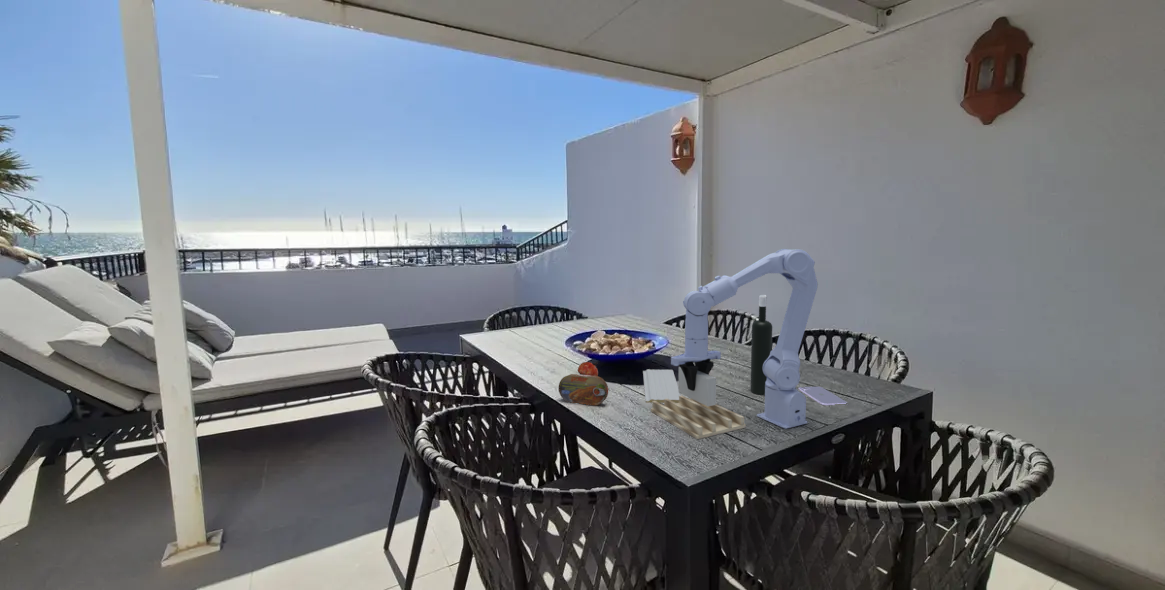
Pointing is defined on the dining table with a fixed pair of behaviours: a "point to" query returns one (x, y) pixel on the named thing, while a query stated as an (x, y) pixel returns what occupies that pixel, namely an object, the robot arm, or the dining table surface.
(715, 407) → the rack
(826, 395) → the mobile phone
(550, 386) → the dining table surface
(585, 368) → the pomegranate
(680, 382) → the gray rectangular block
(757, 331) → the wine bottle
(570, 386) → the tin
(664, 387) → the baseboard molding
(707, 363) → the robot arm
